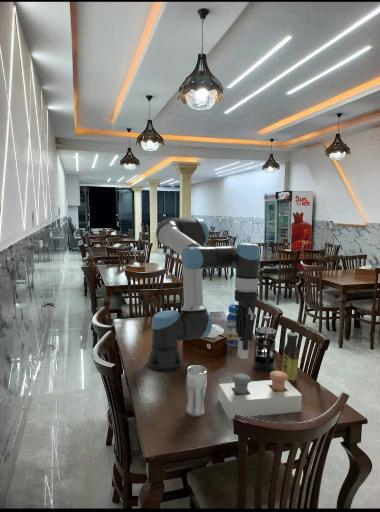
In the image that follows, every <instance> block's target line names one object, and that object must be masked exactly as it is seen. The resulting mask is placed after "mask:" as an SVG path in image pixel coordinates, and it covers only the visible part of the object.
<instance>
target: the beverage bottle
mask: <svg viewBox="0 0 380 512" xmlns="http://www.w3.org/2000/svg"><path fill="white" fill-rule="evenodd" d="M235 305H237V303H236V304H235V303H233V304H229V305H228V315H227V317H226V320H227V321H226V333H225V334H226V335H225V338H226V337H227V343H226V344H227V346H232V347H238V333H236V309H235Z"/></svg>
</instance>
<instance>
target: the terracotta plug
mask: <svg viewBox="0 0 380 512" xmlns="http://www.w3.org/2000/svg"><path fill="white" fill-rule="evenodd" d="M269 378H270V380H272V390H273V391H274V392H284V387H285V381H286V380H287V378H288V375H287V374H286V373H284V372H281V371H280V370H272V371H270V373H269Z"/></svg>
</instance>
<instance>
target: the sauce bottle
mask: <svg viewBox="0 0 380 512" xmlns="http://www.w3.org/2000/svg"><path fill="white" fill-rule="evenodd" d="M298 336H299V335H298V333H296V332H291V331H290V332H287V334H286V337H287V339H286V344H285V345H284V348H283V350H282V356H281V357H282V358H281V359H282V360H281V372H284V373H286V374H287V375H288V378H287V381H288V382H289V383H290V384H294V383H296V381H297V378H298V366H299V354H300V352H299V350H300V349H299V348H298V346H297V345H298V344H297V340H298Z"/></svg>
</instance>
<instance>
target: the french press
mask: <svg viewBox="0 0 380 512" xmlns="http://www.w3.org/2000/svg"><path fill="white" fill-rule="evenodd" d="M261 318H262V319H263V320H265V326H259V327H256V328H255V331H256V332H255V335H256V336H257V337H256V338H255V339H254V346H253V347H254V349H253V350H254V351H253V364H252V367H253V368H254V369H255V370H257V371H260V372H272V371H275V356H276V355H275V354H276V353H275V352H276V344H277V343H276V340H275V339H274V338H275V337H276V333H277V330H276V329H275V328H272V327H267V323H268V320H271V319H272V317H271V315H270V316H269V315H262V316H261ZM267 335H271V336H272V337H274V338H270V337H267ZM267 341H268V342H271V343H270V344H266V342H267ZM271 349H272V351H271Z"/></svg>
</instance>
